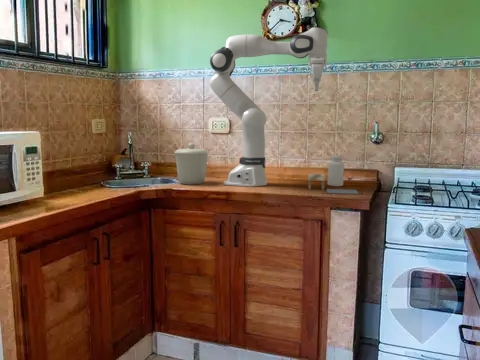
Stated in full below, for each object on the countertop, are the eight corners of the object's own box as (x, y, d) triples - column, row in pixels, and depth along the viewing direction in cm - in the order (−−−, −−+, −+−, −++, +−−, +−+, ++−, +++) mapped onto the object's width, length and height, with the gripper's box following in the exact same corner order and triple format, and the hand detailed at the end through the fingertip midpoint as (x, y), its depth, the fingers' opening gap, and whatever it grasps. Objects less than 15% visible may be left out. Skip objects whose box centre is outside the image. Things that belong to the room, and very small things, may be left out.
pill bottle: (343, 186, 234) (344, 157, 232) (327, 186, 235) (328, 156, 233) (343, 184, 241) (344, 156, 239) (327, 184, 243) (328, 155, 241)
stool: (307, 189, 223) (308, 175, 222) (307, 187, 228) (308, 173, 227) (324, 189, 222) (324, 175, 221) (324, 188, 227) (324, 174, 226)
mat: (327, 193, 212) (327, 192, 212) (326, 189, 223) (326, 188, 223) (358, 194, 209) (358, 193, 209) (355, 190, 221) (356, 189, 221)
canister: (200, 186, 228) (200, 144, 225) (167, 184, 233) (167, 143, 230) (214, 182, 245) (214, 142, 242) (183, 180, 250) (183, 141, 248)
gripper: (311, 64, 236) (310, 91, 238) (310, 59, 216) (309, 89, 218) (323, 64, 235) (322, 91, 237) (324, 59, 215) (323, 89, 217)
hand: (316, 90), depth 227 cm, fingers open, 8 cm apart
